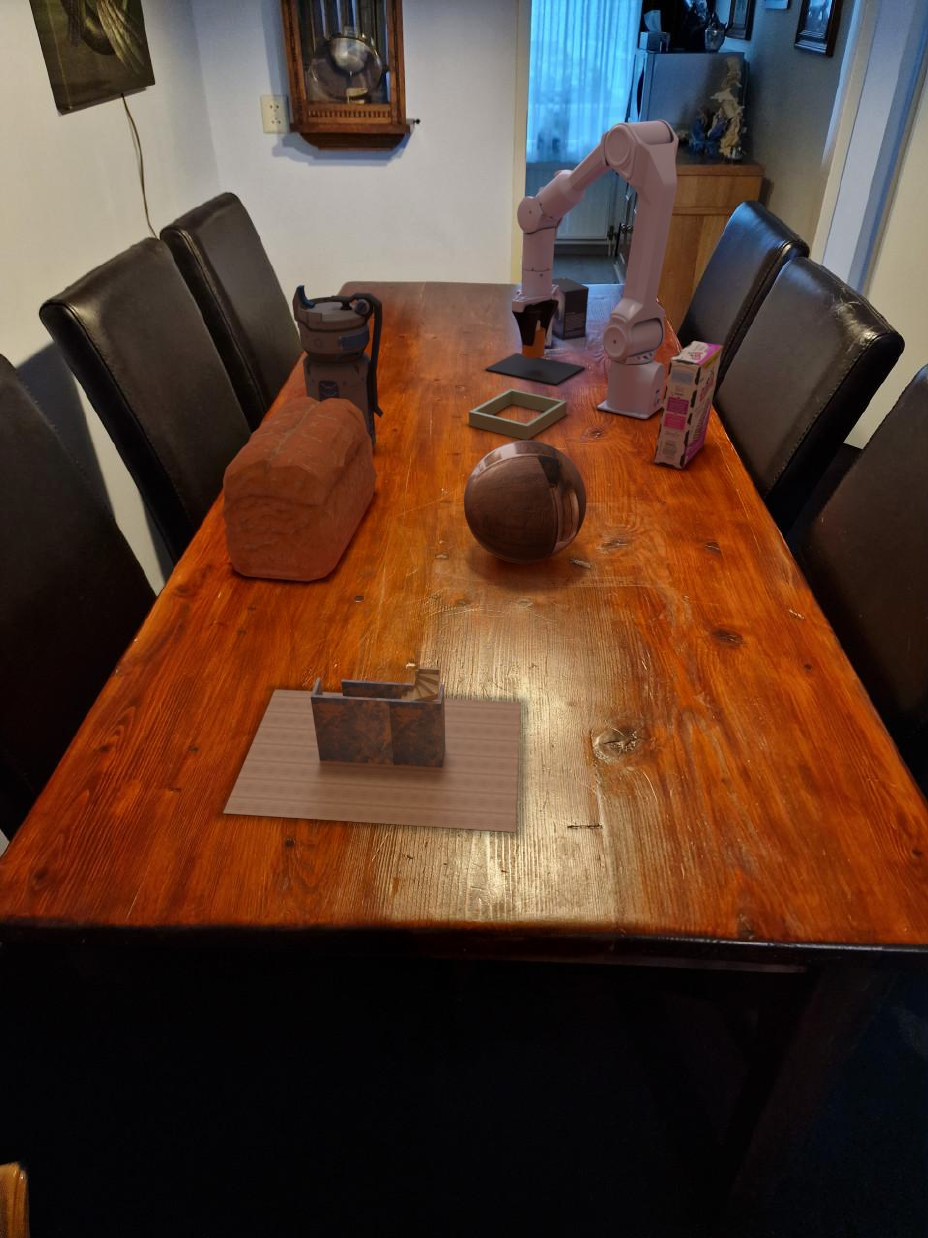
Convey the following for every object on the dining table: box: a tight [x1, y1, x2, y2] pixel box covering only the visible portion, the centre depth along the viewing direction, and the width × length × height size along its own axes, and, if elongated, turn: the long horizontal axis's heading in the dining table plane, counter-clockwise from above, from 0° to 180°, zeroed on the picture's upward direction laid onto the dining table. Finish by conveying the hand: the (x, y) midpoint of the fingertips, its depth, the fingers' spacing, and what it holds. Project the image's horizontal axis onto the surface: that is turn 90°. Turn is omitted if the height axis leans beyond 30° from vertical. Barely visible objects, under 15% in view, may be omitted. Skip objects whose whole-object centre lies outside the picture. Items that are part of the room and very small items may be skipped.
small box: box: [552, 276, 590, 340], centre depth 182 cm, size 11×6×10 cm, turn 25°
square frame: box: [468, 388, 568, 441], centre depth 141 cm, size 12×14×2 cm
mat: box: [485, 352, 586, 386], centre depth 164 cm, size 16×12×1 cm
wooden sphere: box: [463, 440, 587, 565], centre depth 100 cm, size 15×15×15 cm
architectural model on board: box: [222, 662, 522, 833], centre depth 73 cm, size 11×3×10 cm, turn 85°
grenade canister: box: [291, 284, 384, 450], centre depth 124 cm, size 10×13×25 cm
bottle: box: [521, 320, 546, 358], centre depth 159 cm, size 4×4×6 cm
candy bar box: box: [653, 340, 724, 470], centre depth 125 cm, size 11×5×16 cm, turn 149°
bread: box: [221, 396, 378, 582], centre depth 106 cm, size 14×27×15 cm, turn 171°
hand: (534, 341), depth 160 cm, fingers closed on bottle, 4 cm apart
